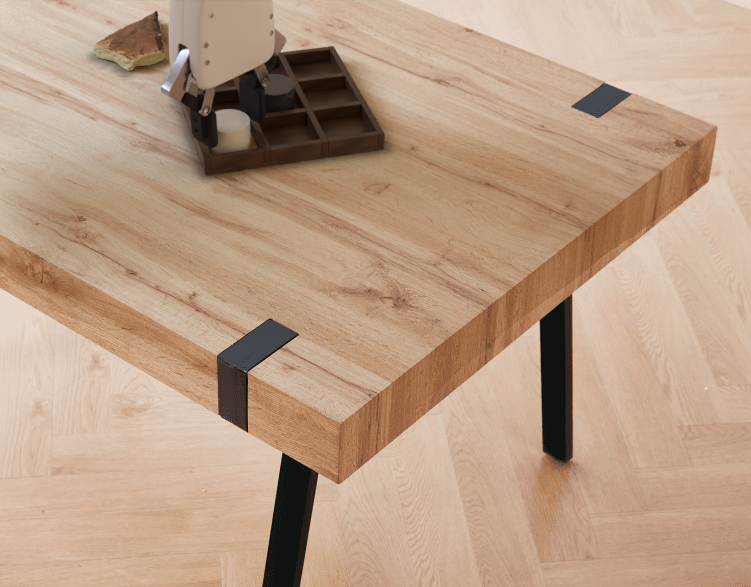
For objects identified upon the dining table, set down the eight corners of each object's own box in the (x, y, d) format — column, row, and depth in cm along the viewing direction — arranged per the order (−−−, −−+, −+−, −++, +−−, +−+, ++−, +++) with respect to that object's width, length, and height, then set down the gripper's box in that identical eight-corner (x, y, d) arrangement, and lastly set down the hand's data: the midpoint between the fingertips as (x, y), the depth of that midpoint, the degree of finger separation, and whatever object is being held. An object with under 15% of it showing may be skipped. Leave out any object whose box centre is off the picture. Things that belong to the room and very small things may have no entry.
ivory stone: (213, 161, 109) (211, 135, 107) (204, 138, 112) (202, 112, 110) (255, 155, 110) (254, 129, 108) (245, 132, 113) (244, 106, 111)
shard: (157, 21, 132) (156, 8, 131) (204, 41, 129) (203, 27, 127) (92, 55, 125) (90, 41, 124) (140, 77, 122) (138, 63, 121)
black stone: (259, 123, 115) (258, 97, 113) (249, 102, 118) (248, 76, 116) (298, 118, 116) (298, 92, 114) (288, 97, 119) (288, 71, 117)
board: (205, 175, 108) (203, 159, 107) (171, 80, 122) (170, 65, 120) (383, 149, 113) (384, 133, 112) (333, 61, 127) (333, 45, 125)
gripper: (261, -78, 104) (265, 85, 116) (118, -24, 95) (138, 147, 107) (316, -53, 101) (315, 112, 113) (174, 5, 91) (188, 179, 103)
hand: (229, 128), depth 110 cm, fingers open, 5 cm apart
